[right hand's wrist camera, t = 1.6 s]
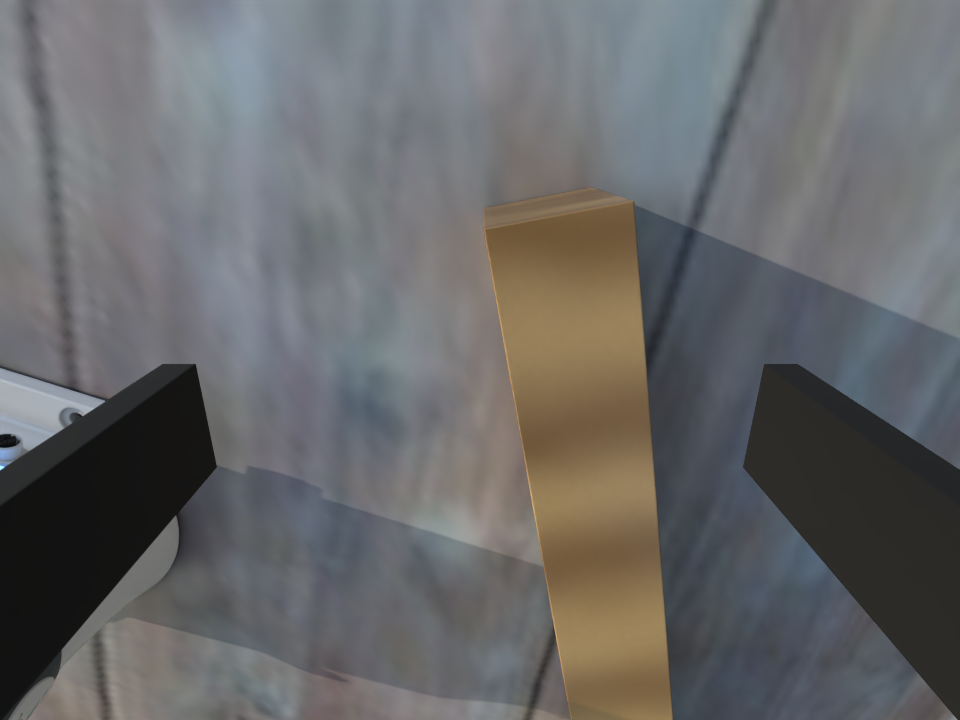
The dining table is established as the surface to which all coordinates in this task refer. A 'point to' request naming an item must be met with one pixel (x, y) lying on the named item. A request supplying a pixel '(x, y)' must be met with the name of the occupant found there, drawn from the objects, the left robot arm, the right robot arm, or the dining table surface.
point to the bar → (587, 440)
